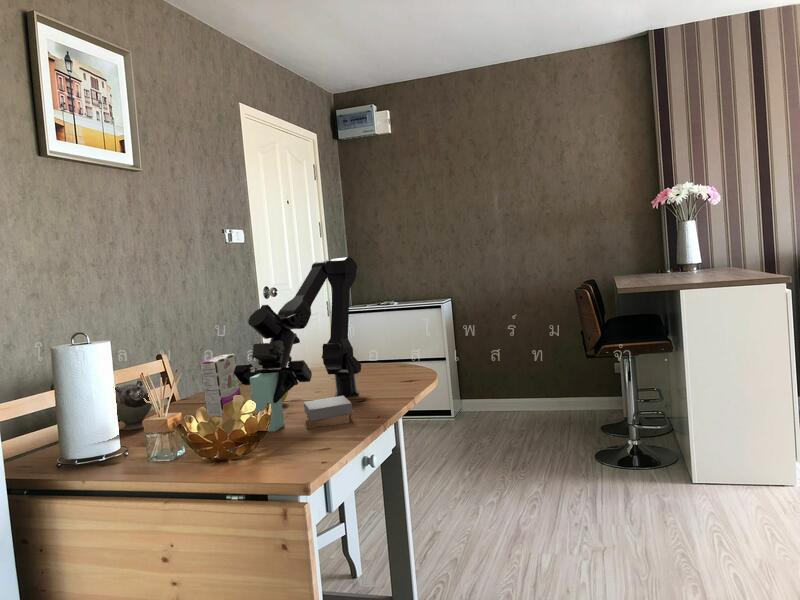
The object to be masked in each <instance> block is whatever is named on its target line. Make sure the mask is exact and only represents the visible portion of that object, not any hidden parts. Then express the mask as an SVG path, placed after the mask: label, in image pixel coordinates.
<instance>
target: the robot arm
mask: <svg viewBox="0 0 800 600" xmlns="http://www.w3.org/2000/svg"><path fill="white" fill-rule="evenodd" d="M357 270H358V266H357V262H356V261H355V260H354V258H352V257H351V256H348V257H338V258H332V259H329V260H327V259H326V260H325V259H324V260H318V261H315V262H313V263H312V265H311V268H310V271H309V272H308V274H307V276H306V277H305V278H304V280H303V282H302V284H301V286H300V287H299V289H298V291H297V292H296V294H295V296H293V298H292V299H290V300H289V301H287V302H285V304H284V305H283V306H282V307H281V308H280V309H279V310H278V313H276V312H275V311H274V310H273V309H272V307H271V306H270V305H269V304H262V305H261V306H260V308H258V309H257V310H255V311H254V312H253V313H252V314H250V316H249V318H248V325H249V326H250V327H251V328H252V329H253V330H254V331H255V332H256V333H258V335H260V336H261V337H262V338H263V339H265V340H269V339H270V340H269V342H263V343H253V344H252V354H251V357H252V358H253V359H256V360H258V362H257V363H258V365H259V366H261V368H257V367H255V366H254V365H252V364H251V363H241V364H240V363H239V364H236V367H235V369H234V372H233V373H234V375H235V376H236V377H237V378H238V379H239V383H241V384H242V386H243V385H244V386H250V377H252V376H255V375H257V374H260V373H279V380H278V384H277V387H276V390H275V394H274V398H273V402H274V403H277V402H278V401H279V400H280V399H281V398H282V397H283V396H284V395H285V394H286V393H287V392H288V393H289V391H290V390H291V389H293V387H295V386H298V384H299V383H309V382H311V380H312V376H313V373H312V370H311V368H310V367H309V365H308V364H307V363H306V361H304V359H302V360H292V359H293V358H292V356H291V352H292V349H293V345H296V344H299V343H300V344H301V340H300V338H299V337H298V335H297V333H295V332H294V331H293V330H301V329H305V328H306V327H307V326H308V324H309V321H310V319H311V316H312V309H311V307H312V305H313V303H314V301H315V300H316V298H317V296H318V295H319V293H320V291H321V289H322V287H323V285H324V284H325V282H326V280H327V281H328V283H329V285H330V286H331V287H330V288H331V289H332V290H331V291H332V293H331V311H330V312H331V315H330V317H331V318H330V320H331V321H330V338H329V339H328V341H327V343H323V344H322V347H321V348H322V355H321V359H322V363H323V365H324V367H325V370H326V372H327V375H334V381H335V382H334V383H335V390H336V391H335V393H334V394H335V395H334V397H337V396H344V397H345V398H346V397H352V396H358V395H359V388H357V384H356V376H355V375H356V374H357V375H358V374H359V373H361V371H362V363H360V361H359V360H358V359H357V358H356V357H355V356H354V347H353V346H352V344H351V342H350V340H349V319H350V313H349V312H350V293H351V292H350V291H351V287H352V286H353V284H354V283H355V281H356V277H357Z"/></svg>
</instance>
